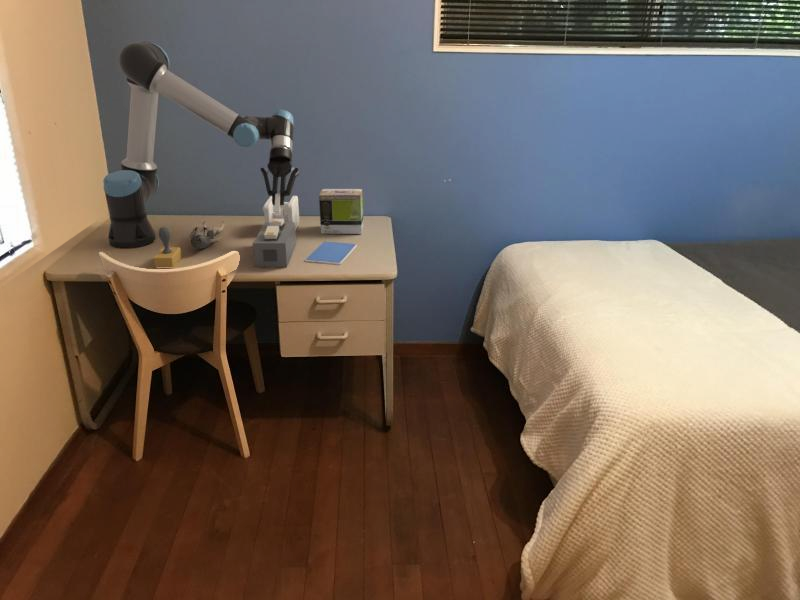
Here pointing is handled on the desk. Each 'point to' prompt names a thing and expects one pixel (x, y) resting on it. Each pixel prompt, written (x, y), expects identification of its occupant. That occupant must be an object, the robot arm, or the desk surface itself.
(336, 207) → the tea box
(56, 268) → the desk surface
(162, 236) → the rubber stamp
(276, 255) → the rocker switch panel
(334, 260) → the blue flat rectangular pad
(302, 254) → the desk surface
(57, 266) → the desk surface
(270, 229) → the block
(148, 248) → the desk surface
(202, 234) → the anime figure
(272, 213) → the cable organizer
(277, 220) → the back rocker
